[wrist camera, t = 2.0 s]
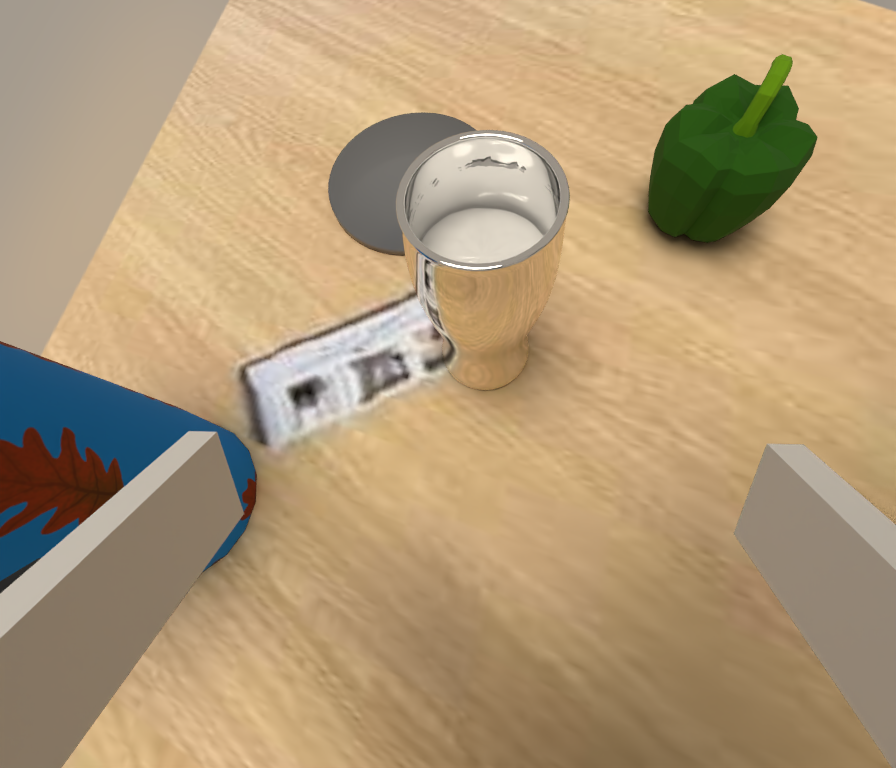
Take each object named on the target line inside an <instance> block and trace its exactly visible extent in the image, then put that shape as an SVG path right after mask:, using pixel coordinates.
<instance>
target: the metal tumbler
mask: <svg viewBox="0 0 896 768" xmlns="http://www.w3.org/2000/svg"><path fill="white" fill-rule="evenodd" d="M569 200H570V194H569V186H568V182H567V178H566V176H565V173H564V171H563V169H562V167H561V166H560V164H559V163H558V161H557V160H556V159H555V158H554V157H553V155H552V154H551V153H550V152H548V151H547V150H546V149H545V148H544V147H542V146H541V145H539V144H538V143H536V142H534V141H532V140H531V139H528V138H526V137H524V136H521V135H518V134H515V133H511V132H506V131H498V130H477V131H470V132H465V133H461V134H457V135H454V136H451V137H448V138H446V139H444V140H442V141H440V142H438V143H436V144H434V145H433V146H431V147H429V148H428V149H427V150H425V151H424V152H423V153H422V154H420V155H419V156H418V157H417V158H416V159H415V160H414V161H413V163H412V164H411V165H410V166H409V168H408V169H407V171H406V172H405V174H404V176H403V178H402V180H401V182H400V185H399V188H398V191H397V197H396V214H397V219H398V222H399V225H400V229H401V235H402V241H403V247H404V252H405V257H406V262H407V266H408V270H409V274H410V277H411V281H412V284H413V287H414V289H415V292H416V295H417V297H418V300H419V302H420V304H421V306H422V308H423V310H424V311H425V313H426V315H427V316H428V318H429V320H430V321H431V323H432V324H433V325H434V327H435V328H436V330H437V331H438V332H439V333H440V335H441V336H442V337H443V343H442V355H443V360H444V363H445V366H446V368H447V369H448V371H449V372H450V374H451V375H452V376H453V377H454V378H455V379H456V380H457V381H458V382H460V383H461V384H463V385H465V386H467V387H470V388H473V389H477V390H492V389H497V388H500V387H503V386H505V385H507V384H509V383H510V382H512V381H513V380H514V379H515V378H516V377H517V376H518V375H519V374H520V373H521V371H522V370H523V368H524V366H525V364H526V362H527V358H528V351H529V346H528V339H527V334H528V333H529V331H530V330H531V329H532V327H533V326H534V324H535V323H536V321H537V320H538V318H539V316H540V315H541V313H542V311H543V309H544V307H545V305H546V303H547V301H548V299H549V297H550V294H551V291H552V288H553V285H554V282H555V279H556V276H557V272H558V267H559V262H560V258H561V252H562V246H563V239H564V230H565V222H566V216H567V213H568V208H569Z"/></svg>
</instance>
